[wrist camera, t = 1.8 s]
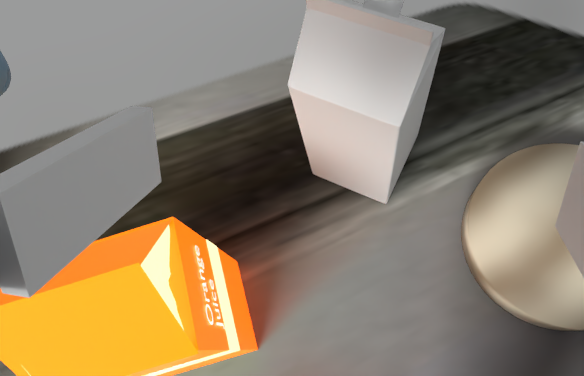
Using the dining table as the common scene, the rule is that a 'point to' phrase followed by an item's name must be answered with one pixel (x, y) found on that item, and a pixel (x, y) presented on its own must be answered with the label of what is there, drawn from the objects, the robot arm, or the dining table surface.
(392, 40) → the milk carton
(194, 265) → the orange juice
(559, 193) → the birch stand
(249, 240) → the dining table surface
